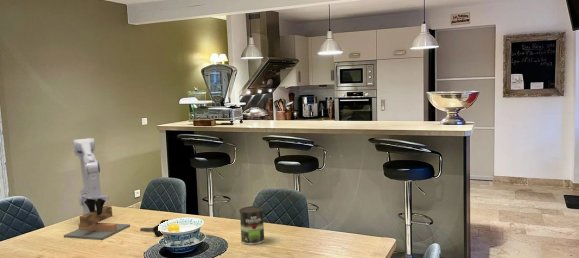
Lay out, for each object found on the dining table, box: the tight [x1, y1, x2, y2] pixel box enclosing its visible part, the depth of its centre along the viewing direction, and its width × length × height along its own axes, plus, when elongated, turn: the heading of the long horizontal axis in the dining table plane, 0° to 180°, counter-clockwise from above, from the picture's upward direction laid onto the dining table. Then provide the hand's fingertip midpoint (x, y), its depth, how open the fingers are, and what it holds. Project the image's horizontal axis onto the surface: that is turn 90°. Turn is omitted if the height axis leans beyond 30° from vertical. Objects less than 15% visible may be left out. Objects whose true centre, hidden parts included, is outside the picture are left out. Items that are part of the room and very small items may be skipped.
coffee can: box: [239, 205, 265, 246], centre depth 193 cm, size 10×10×14 cm
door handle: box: [139, 219, 169, 237], centre depth 216 cm, size 3×20×16 cm
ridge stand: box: [63, 222, 131, 241], centre depth 217 cm, size 20×22×4 cm
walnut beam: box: [79, 205, 113, 227], centre depth 216 cm, size 18×4×5 cm, turn 163°
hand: (96, 214), depth 216 cm, fingers closed on walnut beam, 3 cm apart
